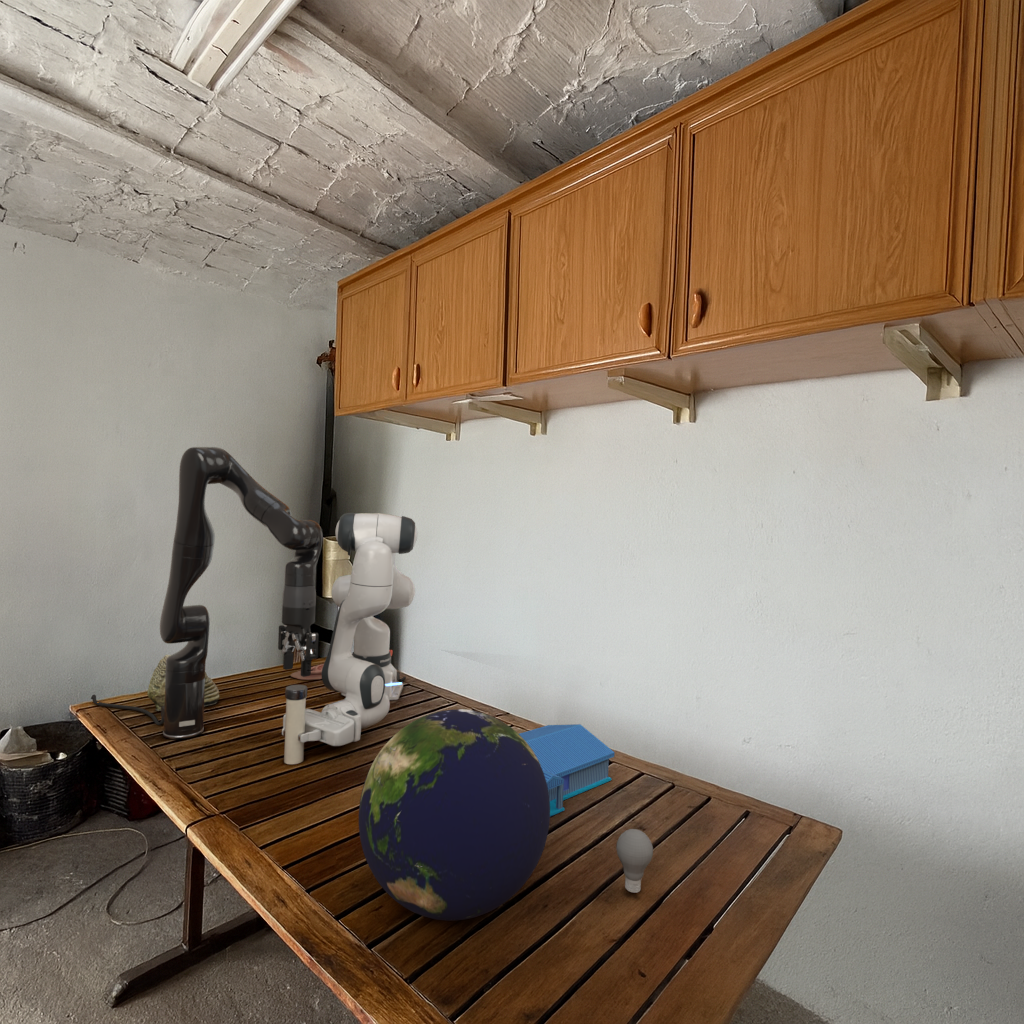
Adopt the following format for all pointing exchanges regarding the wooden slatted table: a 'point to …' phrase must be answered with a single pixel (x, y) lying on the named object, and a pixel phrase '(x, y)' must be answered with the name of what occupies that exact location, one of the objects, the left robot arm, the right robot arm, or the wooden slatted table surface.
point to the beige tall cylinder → (294, 731)
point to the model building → (569, 760)
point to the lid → (296, 692)
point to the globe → (454, 815)
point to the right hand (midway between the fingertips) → (291, 735)
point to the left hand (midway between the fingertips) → (296, 672)
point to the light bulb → (634, 857)
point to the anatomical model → (315, 674)
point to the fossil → (158, 687)
